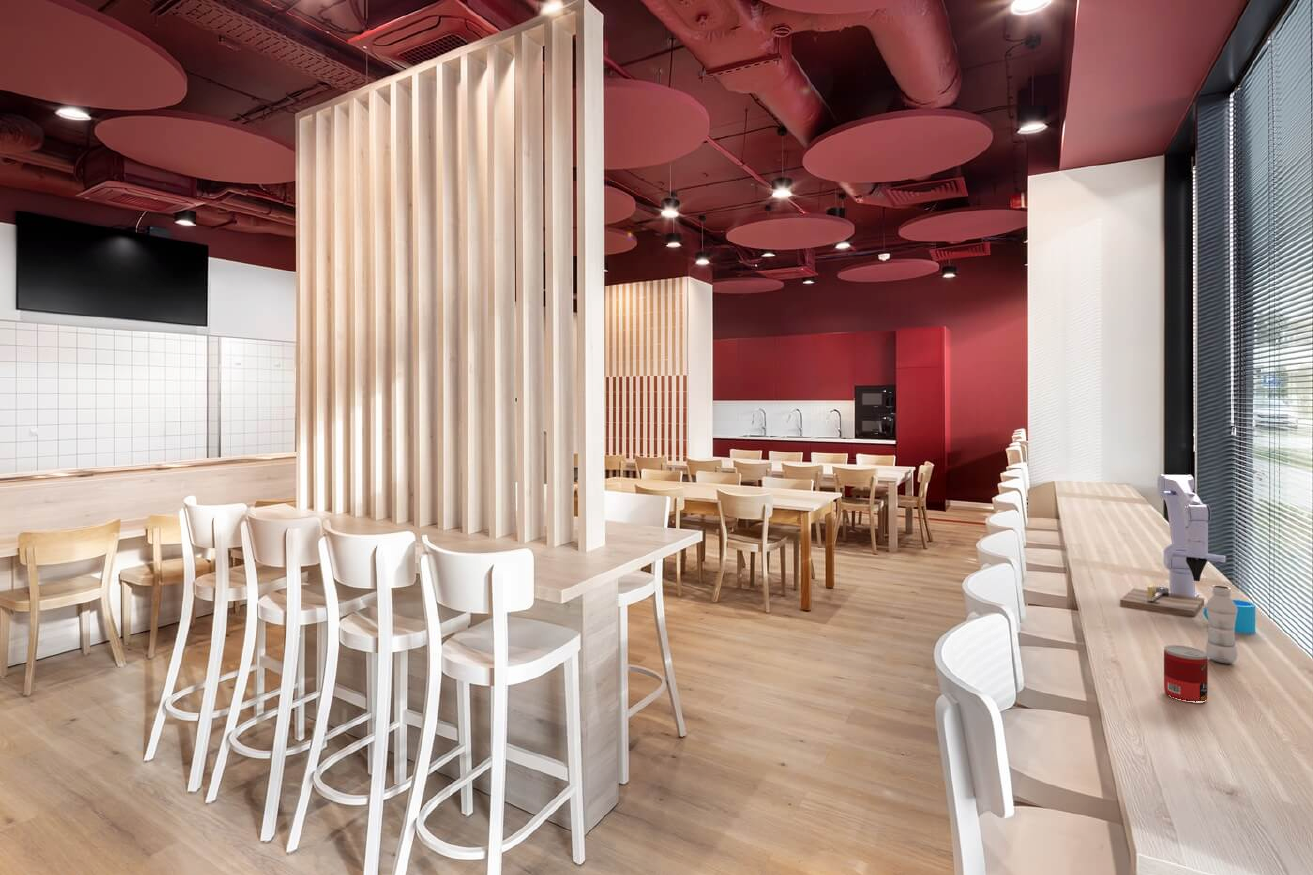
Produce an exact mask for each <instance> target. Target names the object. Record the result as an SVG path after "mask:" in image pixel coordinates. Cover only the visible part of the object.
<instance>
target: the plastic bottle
mask: <svg viewBox="0 0 1313 875" xmlns="http://www.w3.org/2000/svg"><path fill="white" fill-rule="evenodd" d="M1211 594H1213V595H1212V596H1211V597H1209V599H1208V600H1207V601H1206V603H1205V607H1206V609H1207V616H1208V620H1207V622H1208V632H1207V641H1206V644H1205V653H1207V657H1208V659H1210V661H1213V662H1216V663H1222V664H1234V663H1235V662H1236V661H1237V659H1238V656H1239V655H1238V649H1237V646H1236V635H1235V630H1234V629H1235V621H1236V616H1237V610H1238V609H1237V606H1236V605H1235V603H1234V602H1233V601H1232V598H1231V597H1230V596H1232V593H1231V588H1230V587H1229V586H1224V585H1212V591H1211Z"/></svg>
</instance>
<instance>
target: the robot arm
mask: <svg viewBox="0 0 1313 875" xmlns="http://www.w3.org/2000/svg"><path fill="white" fill-rule="evenodd" d="M1194 478H1195V477H1193V475H1192V474H1163V473H1162V474H1159V476H1158V477H1157V490H1158V495H1159V498H1160V499H1161V500H1163V501H1165V504H1166V508H1167V509H1166V510H1167V517H1168V524H1169V531H1170V538H1171V544H1169V545H1168V546H1166V547H1165V548H1164V549H1163V565H1164V567H1165V569H1167V570H1168V571H1169V573H1168V574H1169V577H1168V579H1169V588H1168V589H1169V593H1170V594H1177V595H1185V596H1192V597H1198V596H1199V594H1200V593H1199V592H1196V582H1200V581H1201V576H1202V573H1203V571H1204V568H1205V566H1206V565H1207V564H1208V562H1209V561H1211V562H1219V563H1226V562H1227V561H1226V558H1227V556H1226V555H1223V554H1222V555H1220V554H1215V553H1209V523H1210V522H1211V519H1212V510H1211V508H1210V505H1209V504H1206V503H1203V502H1202V500H1201V498H1200V497H1199V495H1198V494H1196V493H1195V492H1193V491H1194V489H1195V479H1194Z"/></svg>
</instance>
